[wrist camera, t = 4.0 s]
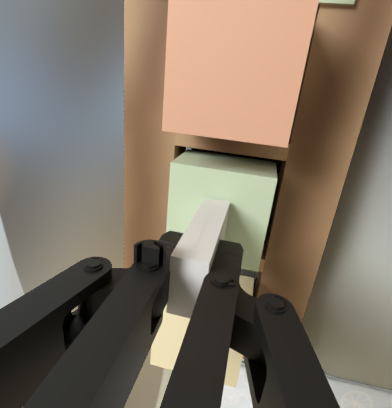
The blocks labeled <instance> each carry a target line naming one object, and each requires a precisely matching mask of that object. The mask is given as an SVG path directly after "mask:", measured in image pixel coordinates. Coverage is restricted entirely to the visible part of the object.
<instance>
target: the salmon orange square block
mask: <svg viewBox="0 0 392 408" xmlns="http://www.w3.org/2000/svg"><path fill="white" fill-rule="evenodd" d="M318 3H319V0H168V18H167V38H166V58H165V78H164V99H163V119H162V131H167V132H174V133H181V134H189V135H196V136H204V137H211V138H219V139H226V140H234V141H241V142H248V143H256V144H263V145H271V146H278V147H286V148H288V143H289V138H290V134H291V129H292V124H293V120H294V115H295V110H296V105H297V101H298V96H299V91H300V87H301V82H302V77H303V73H304V68H305V63H306V59H307V54H308V49H309V45H310V40H311V35H312V31H313V26H314V21H315V17H316V12H317V7H318Z"/></svg>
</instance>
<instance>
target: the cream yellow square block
mask: <svg viewBox="0 0 392 408" xmlns="http://www.w3.org/2000/svg"><path fill="white" fill-rule="evenodd" d="M239 284H240V286H241V288H242V289H243V290H244V291H245V292H246V293H248V294H249V295H251V296H253V285H254V278H252V277H247V276H242V275H240V278H239ZM166 310H167V304H166V306H165V308H164V311H163V320H162V323H161V326H160V328H159V330H158V332H157V335H156V337H155V339H154V341H153V343H152V346H151V362H150V364H152V365H156V366H159V367H163V368H166V369H170V370H173V368H174V365H175V362H176V359H177V356H178V353H179V350H180V347H181V344H182V341H183V339H184V336H185V333H186V330H187V327H188V324H189V321H190V318H186V317H182V316H178V315H174V314H169V313H166ZM242 358H243V355H242V354H240V353H238V352H236V351H235V350H233V349H231V348H229V355H228V361H227V368H226V375H225V381H224V385H227V386H231V387H234V388H236V386H237V381H238V377H239V372H240V367H241V363H242Z"/></svg>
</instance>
